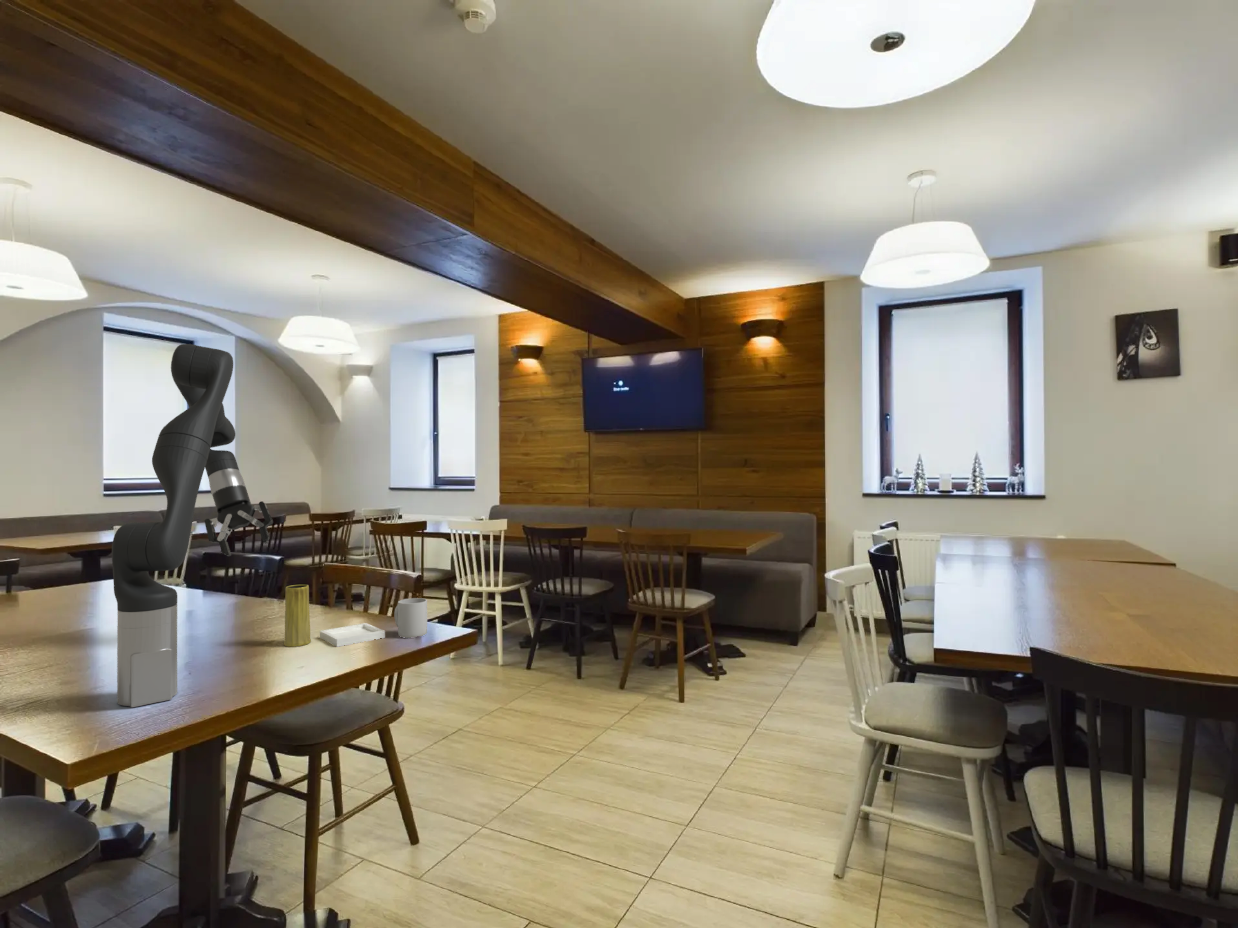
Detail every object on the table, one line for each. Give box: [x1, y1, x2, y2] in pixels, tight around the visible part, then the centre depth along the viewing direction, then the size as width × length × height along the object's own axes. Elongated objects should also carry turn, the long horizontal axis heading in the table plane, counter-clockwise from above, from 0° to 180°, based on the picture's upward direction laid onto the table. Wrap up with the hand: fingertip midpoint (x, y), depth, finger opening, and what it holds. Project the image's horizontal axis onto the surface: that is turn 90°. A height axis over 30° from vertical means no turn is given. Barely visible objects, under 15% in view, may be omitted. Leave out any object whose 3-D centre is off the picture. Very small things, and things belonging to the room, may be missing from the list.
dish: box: [319, 622, 386, 648], centre depth 166 cm, size 12×12×2 cm
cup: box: [393, 597, 428, 639], centre depth 169 cm, size 7×10×9 cm
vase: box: [283, 584, 312, 648], centre depth 161 cm, size 6×6×14 cm
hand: (247, 549), depth 161 cm, fingers open, 8 cm apart
